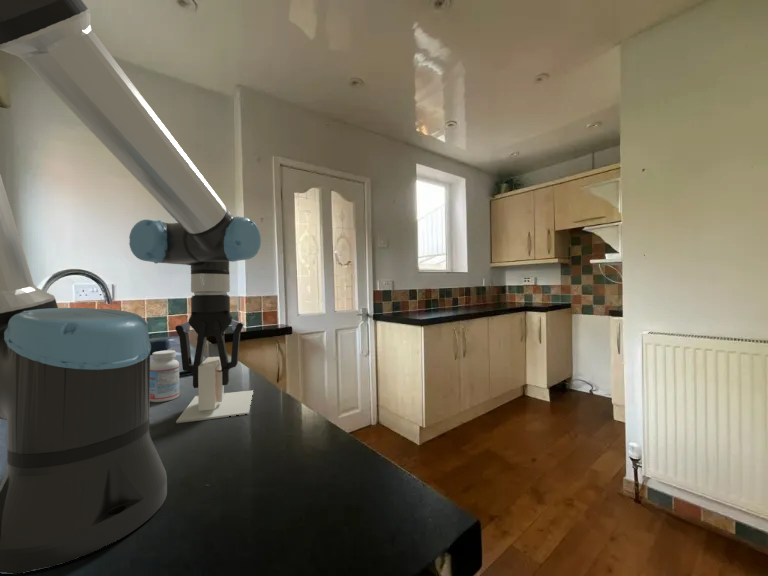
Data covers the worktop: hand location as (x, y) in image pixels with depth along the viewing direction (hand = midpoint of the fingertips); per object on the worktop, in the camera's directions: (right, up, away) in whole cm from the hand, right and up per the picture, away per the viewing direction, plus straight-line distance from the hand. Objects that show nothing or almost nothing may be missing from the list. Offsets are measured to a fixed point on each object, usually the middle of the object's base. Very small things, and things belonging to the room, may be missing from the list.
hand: (211, 400), depth 71 cm
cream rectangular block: (0, 0, 0) cm, 0 cm away
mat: (+1, -2, +1) cm, 2 cm away
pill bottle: (-15, -2, +7) cm, 16 cm away
